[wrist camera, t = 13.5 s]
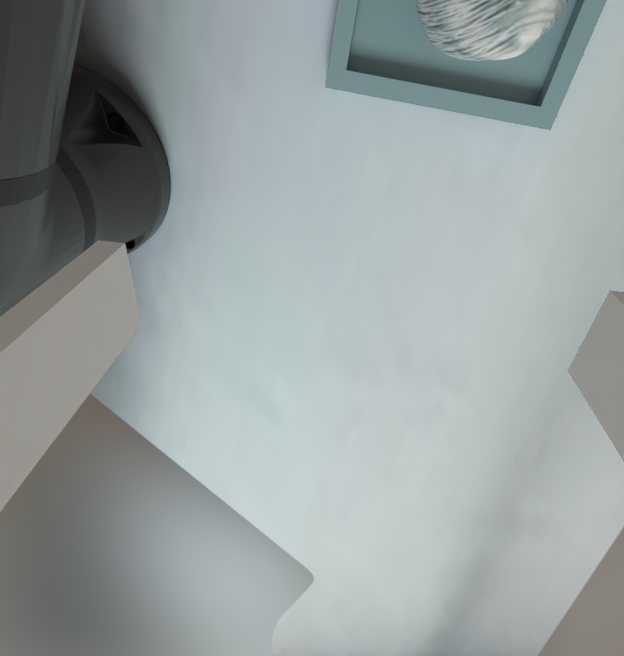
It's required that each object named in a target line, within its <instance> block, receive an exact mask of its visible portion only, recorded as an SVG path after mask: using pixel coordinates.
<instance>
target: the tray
mask: <svg viewBox="0 0 624 656" xmlns="http://www.w3.org/2000/svg"><path fill="white" fill-rule="evenodd" d="M605 3H606V0H569V1H568V3H567V4H566V6H565V8H564V10H563V11H562V13H561V15H560V16H559V18H558V19H557V21H556V22H555V23H554V24H553V26H552V27H551V28H550V29H549V30H548V31H547V32H546V34H545V35H544V36H543V37H542V38H541V39H540V40H539V41H537V42H536V43H535V44H534V45H533V46H532V47H530V48H529V49H528V50H527V51H525V52H524V53H522V54H520V55H518V56H517V57H513V58H509V59H504V60H493V61H488V60H482V61H473V60H463V59H457V58H454V57H451V56H449V55H446V54H444V53H442V52H440V51H439V50H437V49H436V48H435V47H434V46H433V44H432V43H431V42H430V40H429V39H428V37H427V35H426V32H425V30H424V28H423V26H422V23H421V21H420V18H419V15H418V12H417V6H416V0H338V6H337V13H336V19H335V26H334V32H333V39H332V46H331V52H330V59H329V66H328V72H327V79H326V85H325V87H326V88H332V89H337V90H342V91H347V92H353V93H358V94H363V95H368V96H374V97H379V98H384V99H390V100H395V101H400V102H405V103H411V104H416V105H421V106H426V107H432V108H437V109H442V110H447V111H453V112H458V113H463V114H469V115H474V116H479V117H484V118H490V119H495V120H500V121H505V122H511V123H516V124H521V125H527V126H532V127H537V128H542V129H548V130H551V127H552V125H553V123H554V120H555V118H556V116H557V113H558V111H559V109H560V106H561V104H562V102H563V100H564V97H565V95H566V93H567V90H568V88H569V86H570V83H571V81H572V79H573V77H574V74H575V72H576V70H577V67H578V65H579V63H580V60H581V58H582V56H583V53H584V51H585V49H586V47H587V44H588V42H589V40H590V37H591V35H592V33H593V30H594V28H595V26H596V24H597V21H598V19H599V17H600V14H601V12H602V10H603V7H604V5H605Z"/></svg>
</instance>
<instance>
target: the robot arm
mask: <svg viewBox="0 0 624 656" xmlns="http://www.w3.org/2000/svg"><path fill="white" fill-rule="evenodd" d="M85 1H86V0H0V511H1V510H2V509H3V507H4V506H5V505H6V503H7V502H8V501H9V499H10V498H11V497H12V495H13V494H14V493H15V491H16V490H17V489H18V487H19V486H20V485H21V484H22V482H23V481H24V479H25V478H26V477H27V476H28V474H29V473H30V472H31V470H32V469H33V468H34V466H35V465H36V464H37V462H38V461H39V460H40V458H41V457H42V456H43V454H44V453H45V452H46V450H47V449H48V448H49V447H50V445H51V444H52V443H53V441H54V440H55V439H56V437H57V436H58V435H59V433H60V432H61V431H62V429H63V428H64V427H65V425H66V424H67V423H68V422H69V420H70V419H71V418H72V416H73V415H74V413H75V412H76V411H77V409H78V408H79V407H80V406H81V404H82V403H83V402H84V400H85V399H86V397H87V396H88V395H89V394H90V392H91V391H92V390H93V388H94V387H95V386H96V385H97V383H98V382H99V381H100V379H101V378H102V377H103V375H104V374H105V373H106V371H107V370H108V369H109V367H110V366H111V365H112V363H113V362H114V361H115V359H116V358H117V357H118V355H119V354H120V353H121V352H122V350H123V349H124V348H125V346H126V345H127V344H128V342H129V341H130V340H131V338H132V337H133V336H134V334H135V333H136V332H137V330H138V329H139V328H140V326H141V320H140V315H139V310H138V305H137V300H136V295H135V290H134V285H133V280H132V275H131V270H130V265H129V260H128V255H127V254H129V253H131V252H133V251H134V250H136V249H137V248H139V247H140V246H141V245H142V244H143V243H145V242H146V241H147V240H148V239H149V238H150V237H151V236H152V235H153V234H154V233H155V232H156V231H157V230H158V228H159V227H160V225H161V224H162V222H163V220H164V218H165V215H166V213H167V210H168V205H169V200H170V175H169V169H168V164H167V160H166V157H165V154H164V151H163V148H162V146H161V143H160V141H159V139H158V137H157V135H156V133H155V131H154V129H153V128H152V126H151V125H150V123H149V121H148V120H147V118H146V117H145V116H144V114H143V113H142V112H141V110H140V109H139V108H138V107H137V106H136V105H135V103H134V102H133V101H132V100H131V99H130V98H129V97H128V96H127V95H126V94H125V93H123V92H122V91H121V90H120V89H119V88H117V87H116V86H115V85H114V84H112V83H111V82H109V81H108V80H106V79H105V78H103V77H101V76H100V75H98V74H96V73H94V72H92V71H90V70H87V69H85V68H82V67H79V66H76V65H73V64H74V59H75V53H76V48H77V43H78V38H79V32H80V27H81V22H82V16H83V11H84V6H85ZM568 372H569V373H570V375H571V376H572V378H573V380H574V381H575V383H576V384H577V386H578V388H579V389H580V391H581V393H582V394H583V396H584V397H585V399H586V401H587V402H588V404H589V406H590V407H591V409H592V410H593V412H594V414H595V415H596V417H597V419H598V420H599V422H600V423H601V425H602V427H603V428H604V430H605V432H606V433H607V435H608V436H609V438H610V440H611V441H612V443H613V445H614V446H615V448H616V449H617V451H618V453H619V454H620V456H621V458H622V459H623V461H624V292H618V291H609V293H608V295H607V297H606V299H605V301H604V303H603V305H602V306H601V308H600V310H599V312H598V314H597V316H596V318H595V320H594V322H593V324H592V326H591V327H590V329H589V331H588V333H587V335H586V337H585V339H584V341H583V343H582V345H581V346H580V348H579V350H578V352H577V354H576V356H575V358H574V360H573V362H572V364H571V366H570V367H569V369H568Z"/></svg>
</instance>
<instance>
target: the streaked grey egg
mask: <svg viewBox="0 0 624 656" xmlns="http://www.w3.org/2000/svg"><path fill="white" fill-rule="evenodd" d="M568 1H569V0H416V6H417V12H418V15H419V18H420V21H421V23H422V26H423V28H424V30H425V32H426V35H427V37H428V39H429V40H430V42H431V43H432V44H433V46H434V47H435V48H436V49H437V50H439V51H440V52H442V53H444V54H446V55H449V56H451V57H454V58H457V59H463V60H473V61H482V60H488V61H493V60H504V59H509V58H513V57H517V56H518V55H520V54H522V53H524V52H525V51H527V50H528V49H529V48H530V47H532V46H533V45H534V44H535V43H536V42H537V41H539V40H540V39H541V38H542V37H543V36H544V35H545V34H546V32H547V31H548V30H549V29H550V28H551V27H552V26H553V24H554V23H555V22H556V21H557V19H558V18H559V16H560V15H561V13H562V11H563V10H564V8H565V6H566V4H567V3H568Z"/></svg>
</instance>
